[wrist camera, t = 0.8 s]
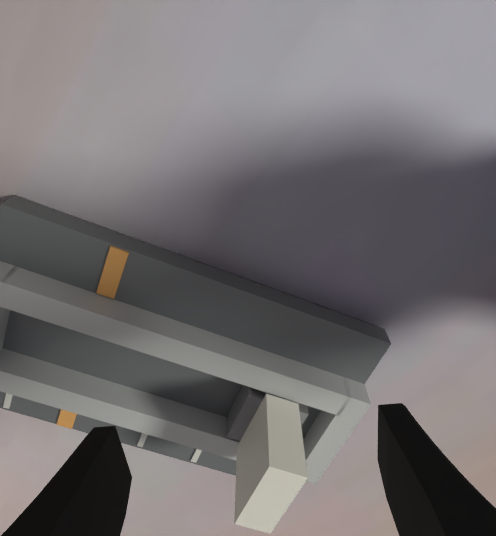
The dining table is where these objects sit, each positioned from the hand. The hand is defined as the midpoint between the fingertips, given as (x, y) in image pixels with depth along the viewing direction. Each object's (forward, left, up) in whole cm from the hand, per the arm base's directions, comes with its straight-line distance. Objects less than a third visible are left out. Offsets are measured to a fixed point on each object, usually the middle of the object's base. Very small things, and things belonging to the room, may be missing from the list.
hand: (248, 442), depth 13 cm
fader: (-3, +6, -9) cm, 11 cm away
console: (+2, +6, -10) cm, 12 cm away
